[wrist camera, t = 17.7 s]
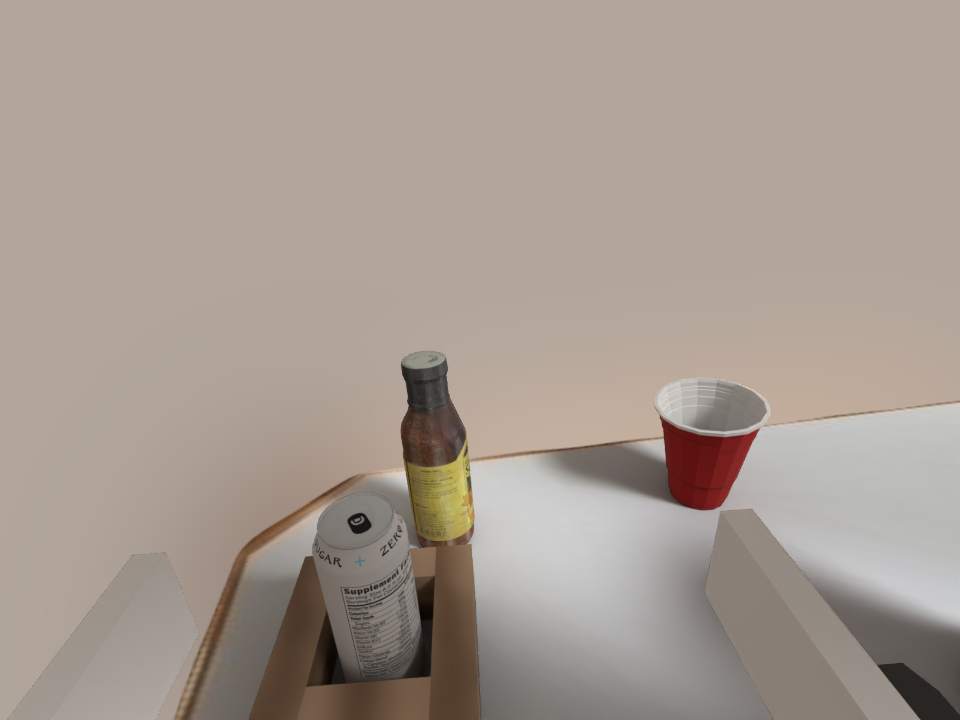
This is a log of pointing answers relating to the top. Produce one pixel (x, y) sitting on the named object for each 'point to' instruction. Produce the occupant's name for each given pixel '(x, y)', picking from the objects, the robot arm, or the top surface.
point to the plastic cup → (707, 436)
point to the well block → (389, 703)
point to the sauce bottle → (435, 454)
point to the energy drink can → (369, 588)
